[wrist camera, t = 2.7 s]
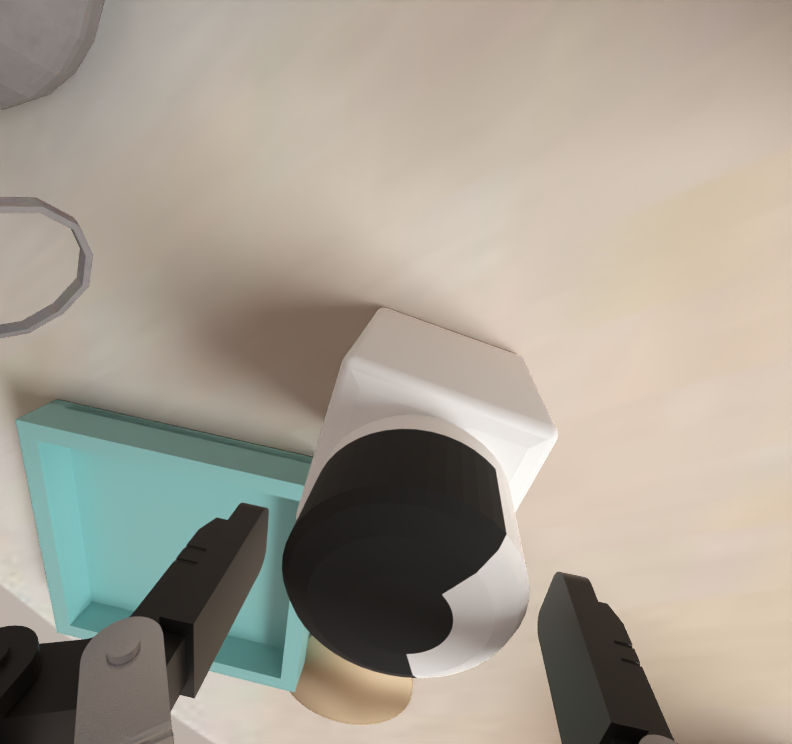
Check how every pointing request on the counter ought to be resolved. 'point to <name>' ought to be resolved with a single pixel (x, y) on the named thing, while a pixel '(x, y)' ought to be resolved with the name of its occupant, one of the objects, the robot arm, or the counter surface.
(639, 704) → the robot arm
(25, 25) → the coffee pot
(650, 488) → the counter surface
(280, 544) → the tray
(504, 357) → the white square bottle
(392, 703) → the cork coaster
